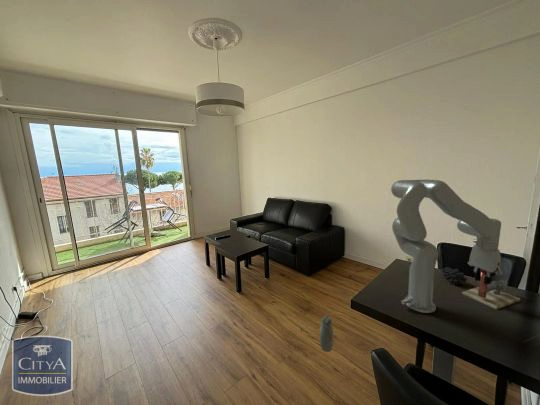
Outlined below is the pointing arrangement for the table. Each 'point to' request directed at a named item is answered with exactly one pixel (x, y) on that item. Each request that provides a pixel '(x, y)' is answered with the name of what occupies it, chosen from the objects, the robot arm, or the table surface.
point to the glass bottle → (326, 334)
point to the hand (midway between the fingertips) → (482, 281)
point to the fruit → (454, 276)
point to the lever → (489, 287)
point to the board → (492, 298)
